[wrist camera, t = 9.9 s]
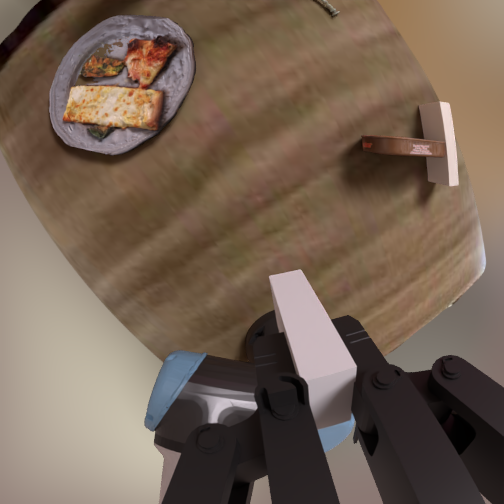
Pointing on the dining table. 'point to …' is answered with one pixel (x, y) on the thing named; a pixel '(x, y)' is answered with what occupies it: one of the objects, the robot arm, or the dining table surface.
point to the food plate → (122, 84)
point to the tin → (403, 146)
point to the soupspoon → (330, 8)
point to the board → (440, 129)
